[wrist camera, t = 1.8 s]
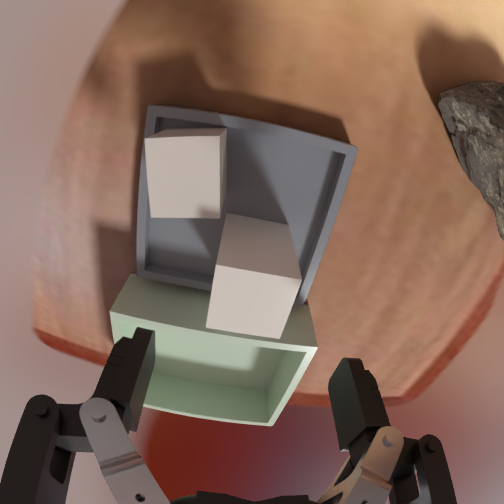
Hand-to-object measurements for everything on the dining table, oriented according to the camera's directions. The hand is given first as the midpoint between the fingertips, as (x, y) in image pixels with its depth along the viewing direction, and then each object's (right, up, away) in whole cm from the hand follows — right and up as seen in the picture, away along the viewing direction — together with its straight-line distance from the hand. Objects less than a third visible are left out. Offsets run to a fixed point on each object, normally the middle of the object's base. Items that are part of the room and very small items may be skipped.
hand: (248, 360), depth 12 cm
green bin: (-3, -4, +13) cm, 14 cm away
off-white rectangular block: (0, +5, +8) cm, 9 cm away
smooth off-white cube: (-3, +10, +5) cm, 12 cm away
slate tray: (-1, +7, +7) cm, 10 cm away
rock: (+19, +12, +5) cm, 23 cm away
